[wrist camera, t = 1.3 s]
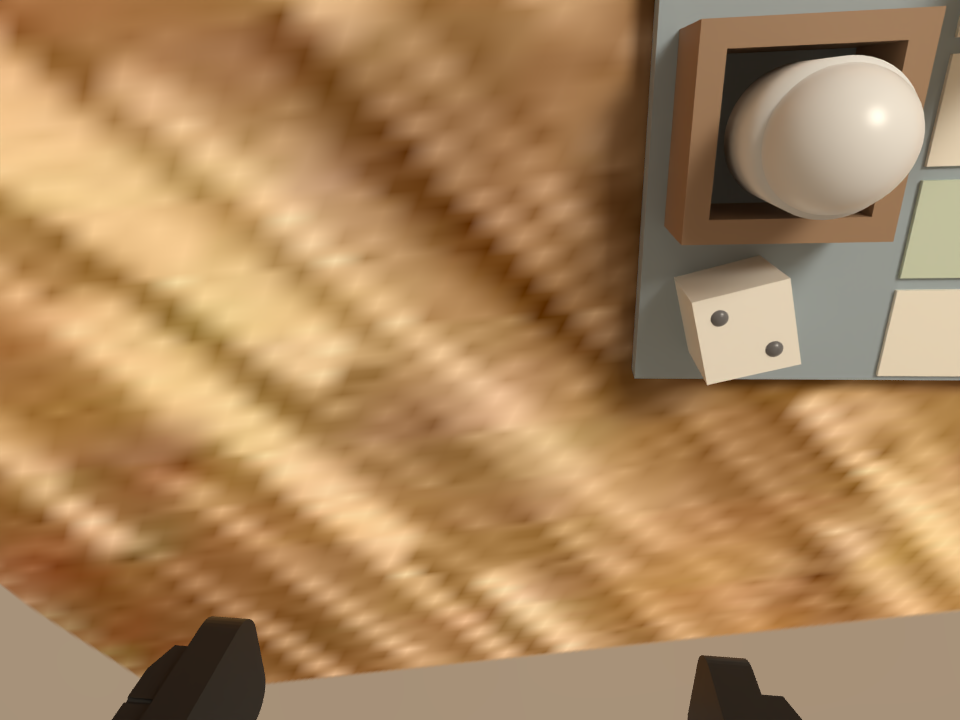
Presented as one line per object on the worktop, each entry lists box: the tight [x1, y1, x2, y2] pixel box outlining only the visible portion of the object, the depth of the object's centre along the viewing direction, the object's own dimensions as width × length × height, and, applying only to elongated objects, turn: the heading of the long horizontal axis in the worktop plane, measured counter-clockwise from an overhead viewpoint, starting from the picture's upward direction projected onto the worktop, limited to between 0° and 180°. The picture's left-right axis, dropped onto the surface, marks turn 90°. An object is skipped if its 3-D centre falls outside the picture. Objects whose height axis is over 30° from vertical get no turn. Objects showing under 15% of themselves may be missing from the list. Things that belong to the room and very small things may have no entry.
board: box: [632, 0, 960, 380], centre depth 26 cm, size 20×18×5 cm
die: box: [674, 255, 801, 385], centre depth 28 cm, size 4×4×4 cm
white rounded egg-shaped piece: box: [724, 55, 925, 220], centre depth 21 cm, size 5×5×6 cm
